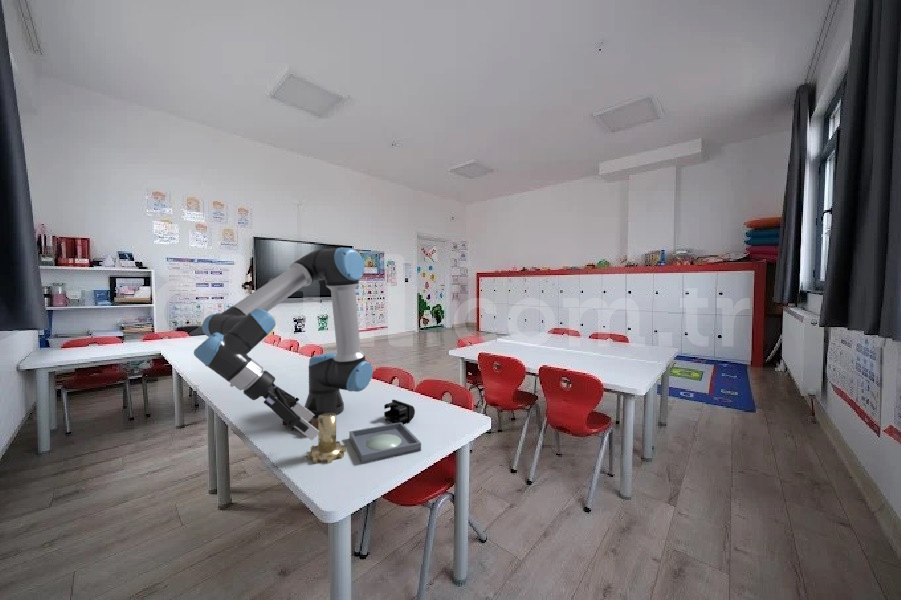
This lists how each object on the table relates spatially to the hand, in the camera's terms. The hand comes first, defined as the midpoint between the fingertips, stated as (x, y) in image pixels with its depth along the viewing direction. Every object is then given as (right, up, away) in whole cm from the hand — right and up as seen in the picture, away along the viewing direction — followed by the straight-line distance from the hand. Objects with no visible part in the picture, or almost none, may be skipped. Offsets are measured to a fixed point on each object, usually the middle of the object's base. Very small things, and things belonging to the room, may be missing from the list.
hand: (313, 426), depth 96 cm
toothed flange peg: (+3, -9, +3) cm, 10 cm away
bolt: (-13, -9, +20) cm, 25 cm away
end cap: (+20, -9, +30) cm, 37 cm away
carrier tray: (+18, -9, +10) cm, 23 cm away
